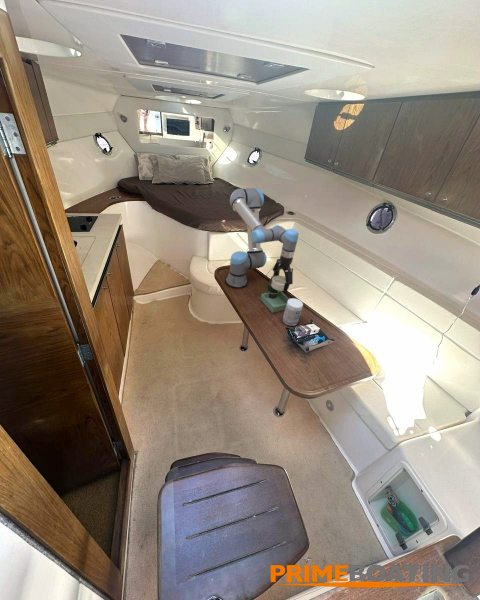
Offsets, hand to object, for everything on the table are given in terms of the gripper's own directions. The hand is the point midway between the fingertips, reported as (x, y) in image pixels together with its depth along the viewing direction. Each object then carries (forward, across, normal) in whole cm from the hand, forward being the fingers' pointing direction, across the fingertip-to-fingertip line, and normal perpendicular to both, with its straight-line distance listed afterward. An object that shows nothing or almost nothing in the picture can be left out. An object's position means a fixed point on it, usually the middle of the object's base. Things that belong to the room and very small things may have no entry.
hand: (279, 286), depth 161 cm
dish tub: (+14, 0, 0) cm, 14 cm away
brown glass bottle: (+14, -8, +2) cm, 17 cm away
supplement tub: (+14, +18, -1) cm, 23 cm away
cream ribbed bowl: (0, 0, 0) cm, 0 cm away
